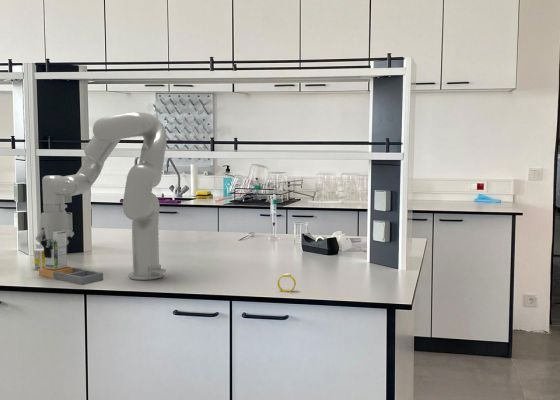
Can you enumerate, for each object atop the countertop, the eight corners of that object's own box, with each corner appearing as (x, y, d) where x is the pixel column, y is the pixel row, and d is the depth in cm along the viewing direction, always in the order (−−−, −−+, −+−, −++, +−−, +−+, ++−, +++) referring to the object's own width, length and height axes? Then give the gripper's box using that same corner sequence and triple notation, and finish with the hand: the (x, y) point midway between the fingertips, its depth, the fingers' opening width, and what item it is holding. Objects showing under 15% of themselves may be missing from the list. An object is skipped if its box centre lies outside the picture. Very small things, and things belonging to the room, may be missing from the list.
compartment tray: (103, 279, 224) (102, 273, 224) (82, 284, 217) (81, 277, 217) (60, 270, 239) (59, 264, 239) (39, 275, 232) (38, 268, 232)
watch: (277, 292, 206) (276, 275, 206) (279, 290, 209) (277, 273, 208) (295, 292, 205) (294, 274, 204) (296, 290, 208) (295, 272, 207)
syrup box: (44, 268, 231) (43, 230, 230) (56, 265, 237) (55, 228, 235) (56, 270, 229) (54, 231, 227) (68, 267, 234) (66, 229, 233)
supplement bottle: (51, 267, 246) (50, 241, 245) (48, 270, 241) (46, 244, 240) (37, 267, 246) (36, 242, 245) (33, 270, 240) (31, 244, 239)
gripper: (67, 205, 239) (69, 251, 241) (27, 210, 225) (29, 258, 227) (80, 207, 235) (81, 253, 237) (39, 211, 221) (41, 261, 223)
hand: (56, 255), depth 232 cm, fingers closed on syrup box, 6 cm apart
